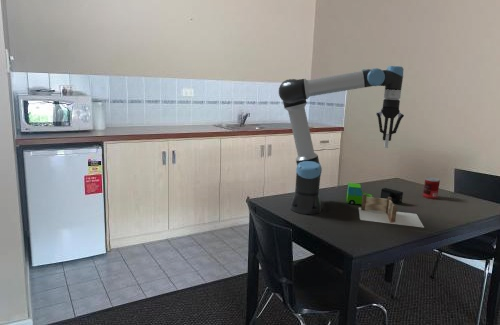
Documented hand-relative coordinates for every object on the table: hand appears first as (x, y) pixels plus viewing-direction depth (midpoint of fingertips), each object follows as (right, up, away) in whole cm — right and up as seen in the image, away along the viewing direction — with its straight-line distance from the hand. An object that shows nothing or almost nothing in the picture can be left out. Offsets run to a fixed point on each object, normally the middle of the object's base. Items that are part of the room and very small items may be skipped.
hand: (385, 147), depth 194 cm
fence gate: (0, -34, -7) cm, 35 cm away
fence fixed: (-5, -33, +2) cm, 33 cm away
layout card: (0, -34, -5) cm, 35 cm away
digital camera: (+9, -30, +19) cm, 37 cm away
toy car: (-9, -30, +15) cm, 34 cm away
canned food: (+37, -28, +34) cm, 58 cm away
